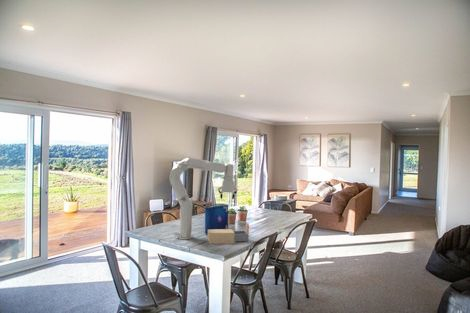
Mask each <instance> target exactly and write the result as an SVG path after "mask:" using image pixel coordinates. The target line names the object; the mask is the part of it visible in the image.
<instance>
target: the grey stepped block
mask: <svg viewBox="0 0 470 313" xmlns="http://www.w3.org/2000/svg"><path fill="white" fill-rule="evenodd" d="M233 231H234V233H235V236H234V242H249V238H250V237H249V234H250V223H248V222H245V230H233Z"/></svg>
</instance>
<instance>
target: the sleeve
mask: <svg viewBox="0 0 470 313" xmlns="http://www.w3.org/2000/svg"><path fill="white" fill-rule="evenodd" d="M234 231H235V230H233V229H232V228H228V229H211V230H208V235H207V242H208V244H210V245H211V244H234V243H235V241H234V236H235V233H234Z"/></svg>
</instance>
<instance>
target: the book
mask: <svg viewBox="0 0 470 313" xmlns="http://www.w3.org/2000/svg"><path fill="white" fill-rule="evenodd" d="M211 229H229V204H226V203H216V204H211V205H206V206H204V234H206V235H207V236H208V230H211Z"/></svg>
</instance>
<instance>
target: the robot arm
mask: <svg viewBox="0 0 470 313" xmlns="http://www.w3.org/2000/svg"><path fill="white" fill-rule="evenodd" d="M188 169H194V170H198V171H199V170H200V171H207V172H208V171H209V172H215V173H221V174H222V173H223V176H222V184H221V187H217V190H218V193H219V194H220V196H219V197H220V199H221V200H223V196H224V195H223V194H224V193H232V194H231V200H234V199H235V195H236V194H237V192H238V191H239V190H238V188H236V187H235V180H234V164H233V163H232V164H231V163H221V162H213V161H209V160H208V159H207V160H206V159H201V158H195V157H186V158H184V159H183V160H181V161H180V162H178V163H176V164H175V165H173V166H172V168H171V171H170V173H169V182H170V185H171V187H172V190H173V192H174V196H175V197H176V200H177V202H178V203H179V205H180V211H179V212H180V214H179V232H178V231H177V232H173V235H174V236H177V238H178V239H181V240H190V239H193V238H194V234H192V227H193V226H192V224H193V220H192V219H193V208H194V207H193V206H194V205H193V201H191V198H190V196H189V194H188V192H187V190H186V188H185V187H184V184H183V180H181V176H182V174H183V173H184V172H185V171H187V170H188Z"/></svg>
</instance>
